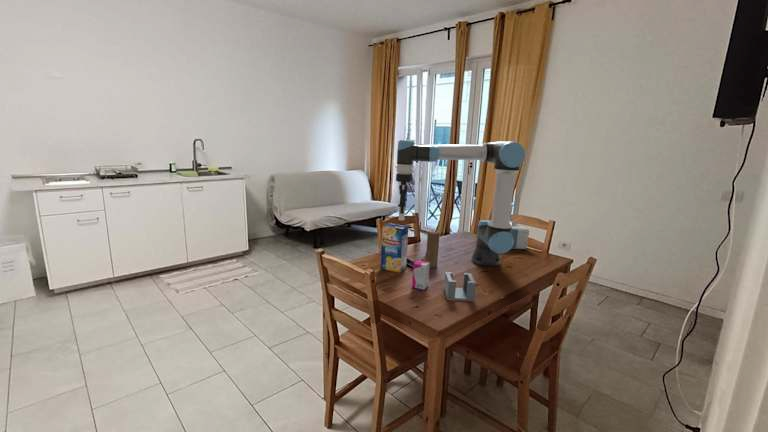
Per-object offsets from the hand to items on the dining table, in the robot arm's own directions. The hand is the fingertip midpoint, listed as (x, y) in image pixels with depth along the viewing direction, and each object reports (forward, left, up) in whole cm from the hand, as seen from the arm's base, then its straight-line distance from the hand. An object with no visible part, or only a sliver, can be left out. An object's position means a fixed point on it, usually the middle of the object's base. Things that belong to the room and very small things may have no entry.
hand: (401, 217), depth 179 cm
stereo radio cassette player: (-68, -48, -27) cm, 88 cm away
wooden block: (-15, -5, -27) cm, 31 cm away
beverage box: (+3, 0, -27) cm, 27 cm away
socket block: (-25, +28, -26) cm, 46 cm away
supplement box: (-9, +22, -27) cm, 36 cm away
